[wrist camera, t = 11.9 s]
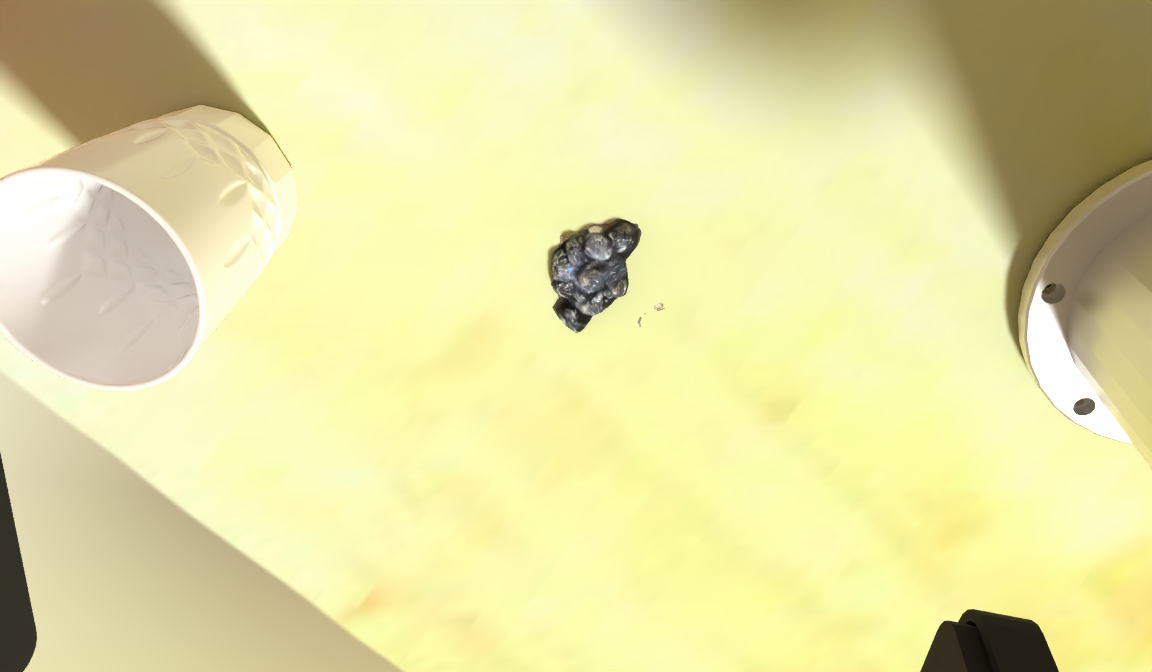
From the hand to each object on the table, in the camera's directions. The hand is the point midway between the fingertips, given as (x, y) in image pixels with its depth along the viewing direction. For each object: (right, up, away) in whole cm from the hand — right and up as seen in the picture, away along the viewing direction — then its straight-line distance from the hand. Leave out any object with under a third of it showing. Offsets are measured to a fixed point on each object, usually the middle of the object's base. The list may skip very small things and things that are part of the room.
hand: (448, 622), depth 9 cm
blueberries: (+2, +5, +30) cm, 31 cm away
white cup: (-13, +9, +30) cm, 34 cm away
